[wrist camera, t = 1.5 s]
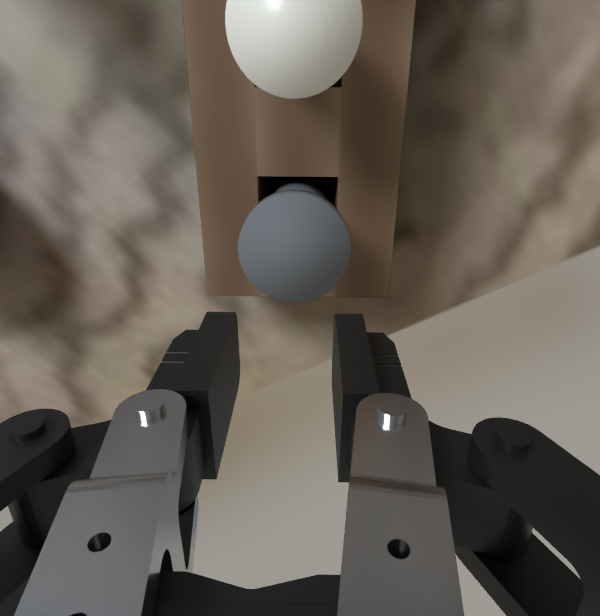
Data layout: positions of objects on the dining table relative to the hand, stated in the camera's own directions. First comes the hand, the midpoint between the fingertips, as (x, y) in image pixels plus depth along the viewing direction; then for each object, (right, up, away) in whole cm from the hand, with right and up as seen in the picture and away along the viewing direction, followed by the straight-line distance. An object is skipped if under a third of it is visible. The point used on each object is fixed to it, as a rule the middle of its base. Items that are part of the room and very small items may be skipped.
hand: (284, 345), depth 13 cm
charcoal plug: (0, +6, +13) cm, 15 cm away
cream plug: (0, +14, +10) cm, 17 cm away
